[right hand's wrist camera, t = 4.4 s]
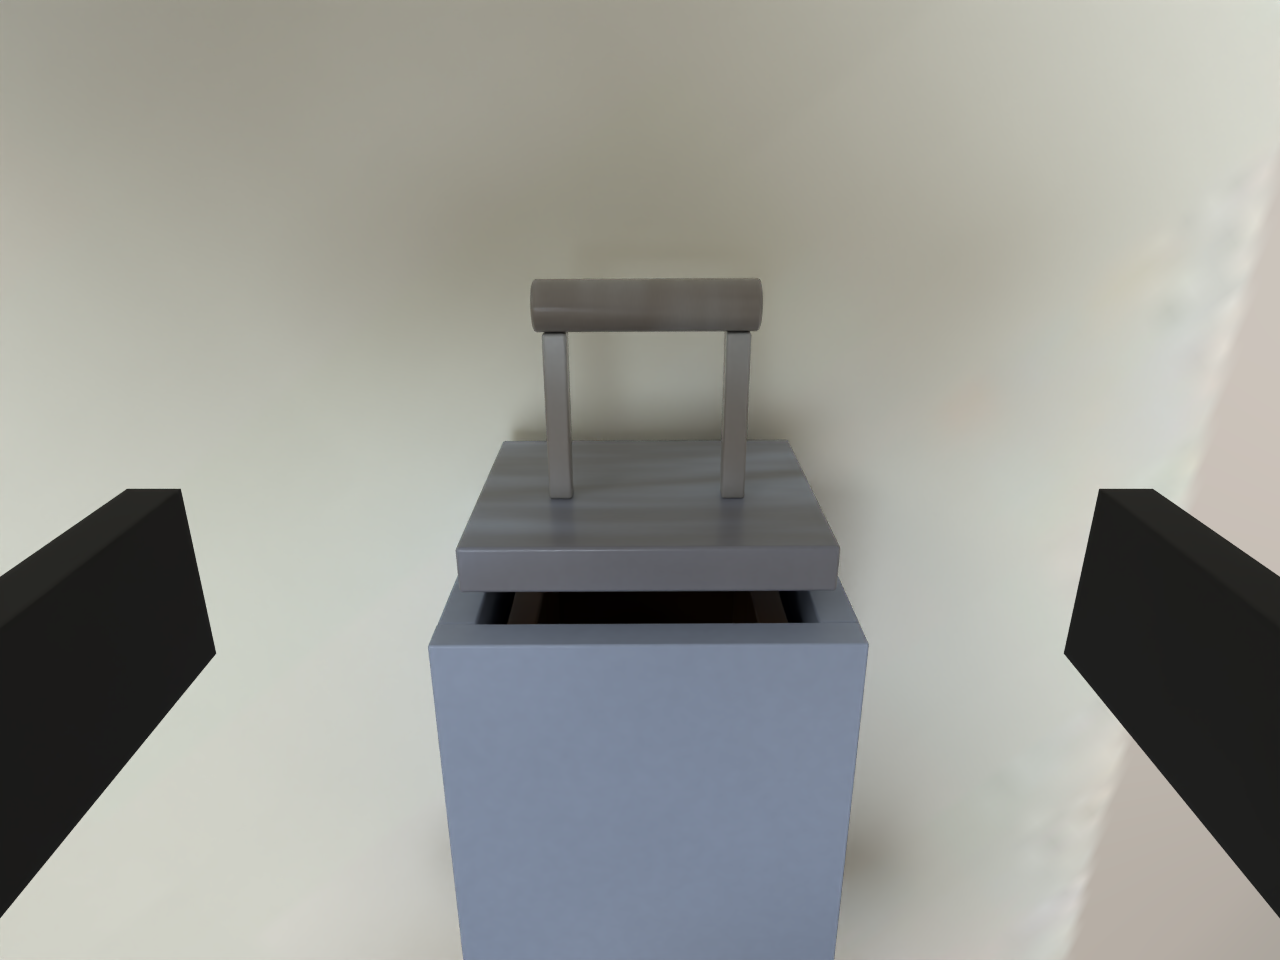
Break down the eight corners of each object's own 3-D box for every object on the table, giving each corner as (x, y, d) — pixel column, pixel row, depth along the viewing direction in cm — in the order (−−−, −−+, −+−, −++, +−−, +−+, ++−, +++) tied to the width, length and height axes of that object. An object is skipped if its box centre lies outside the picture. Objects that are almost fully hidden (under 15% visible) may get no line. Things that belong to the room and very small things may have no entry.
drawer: (489, 255, 25) (431, 303, 18) (800, 254, 25) (863, 301, 18) (533, 896, 34) (506, 1094, 27) (759, 895, 34) (791, 1092, 27)
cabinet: (492, 487, 29) (427, 645, 20) (798, 486, 29) (869, 644, 20) (525, 935, 36) (489, 1194, 27) (767, 934, 36) (808, 1193, 27)
